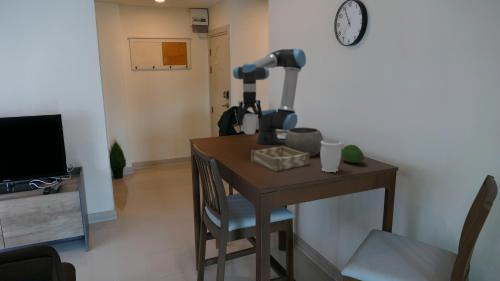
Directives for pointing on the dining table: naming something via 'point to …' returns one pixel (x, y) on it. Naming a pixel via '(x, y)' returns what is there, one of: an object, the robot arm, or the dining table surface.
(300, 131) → the bowl
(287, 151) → the crate
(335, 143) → the jar
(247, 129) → the cup
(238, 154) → the dining table surface
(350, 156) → the fruit
